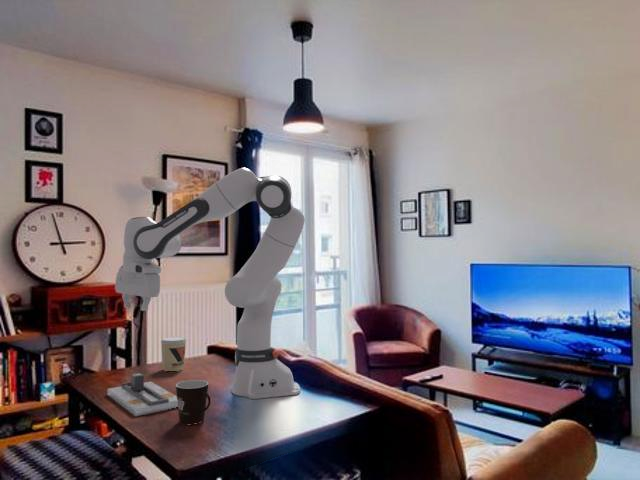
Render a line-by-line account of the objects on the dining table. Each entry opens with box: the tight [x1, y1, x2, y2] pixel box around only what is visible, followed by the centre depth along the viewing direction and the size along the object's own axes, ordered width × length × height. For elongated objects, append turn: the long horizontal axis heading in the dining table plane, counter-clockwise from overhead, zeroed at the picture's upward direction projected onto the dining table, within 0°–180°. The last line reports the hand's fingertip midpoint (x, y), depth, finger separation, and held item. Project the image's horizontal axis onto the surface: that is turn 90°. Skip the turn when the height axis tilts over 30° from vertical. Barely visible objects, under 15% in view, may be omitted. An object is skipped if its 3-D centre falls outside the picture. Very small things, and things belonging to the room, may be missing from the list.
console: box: [107, 381, 178, 417], centre depth 151 cm, size 26×14×3 cm, turn 39°
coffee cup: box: [160, 336, 187, 372], centre depth 191 cm, size 9×9×12 cm
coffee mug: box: [175, 379, 211, 425], centre depth 132 cm, size 12×9×10 cm
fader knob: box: [130, 372, 145, 391], centre depth 156 cm, size 4×3×4 cm
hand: (135, 309), depth 160 cm, fingers open, 8 cm apart
